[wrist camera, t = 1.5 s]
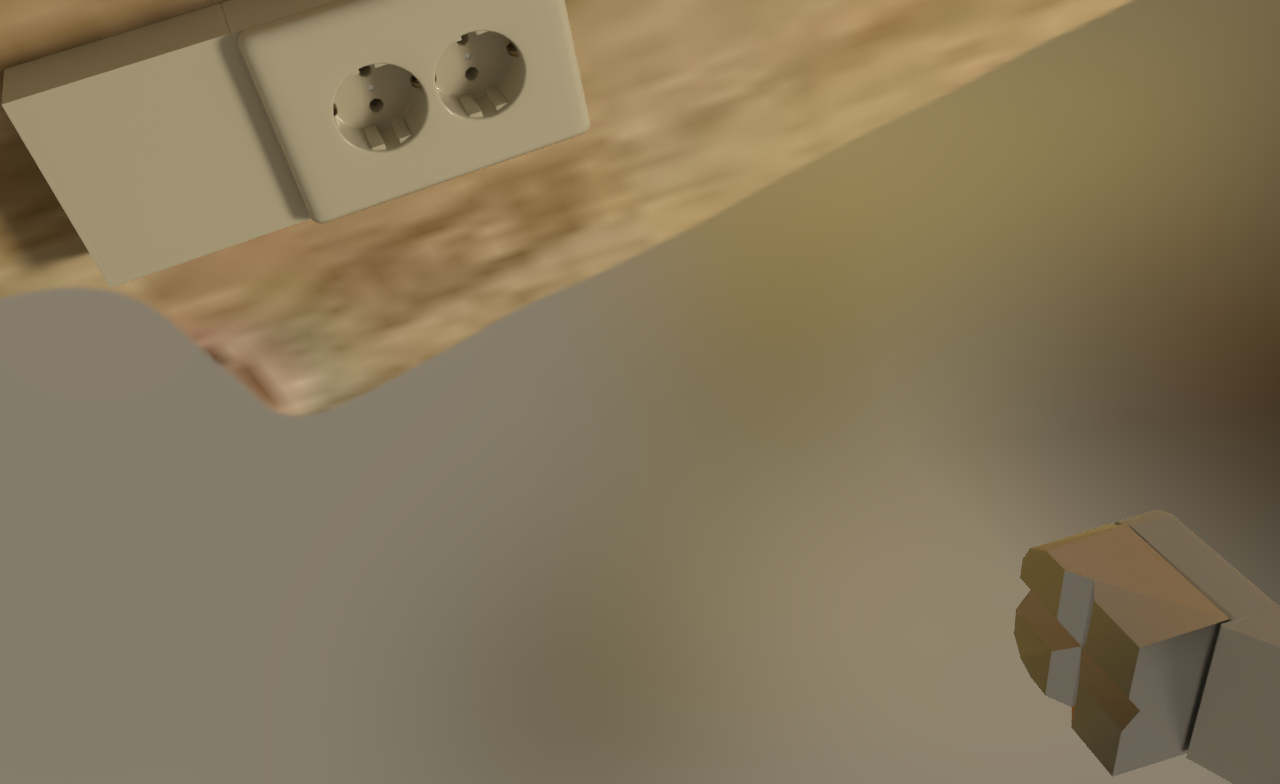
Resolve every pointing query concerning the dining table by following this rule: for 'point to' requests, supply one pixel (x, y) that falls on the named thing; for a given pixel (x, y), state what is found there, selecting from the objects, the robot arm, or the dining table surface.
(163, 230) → the electrical outlet
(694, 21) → the dining table surface
